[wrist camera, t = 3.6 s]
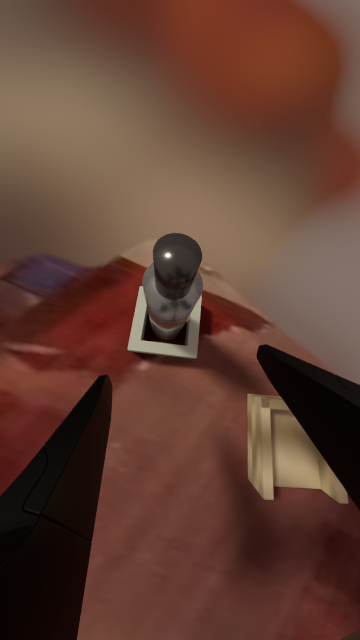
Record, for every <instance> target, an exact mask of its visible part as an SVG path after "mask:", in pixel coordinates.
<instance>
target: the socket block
mask: <svg viewBox="0 0 360 640" xmlns="http://www.w3.org/2000/svg"><path fill="white" fill-rule="evenodd" d="M201 300H202V296H200V298H199V300H198V302H197V303H196V305H195V307H194V308H193V310H192V312H191V314H190V315H189V317H188V319H187V328H186V337H185V346H183V345H175V344H167V343H159V342H151V341H143V339H144V333H145V327H146V322H147V316H148V308H147V304H146V299H145V295H144V290H143V287H142V286H140V289H139V294H138V299H137V304H136V309H135V314H134V319H133V324H132V329H131V334H130V339H129V344H128V350H129V351H131V352H139V353H147V354H156V355H164V356H172V357H181V358H189V359H195V358H197V350H198V338H199V325H200V312H201Z"/></svg>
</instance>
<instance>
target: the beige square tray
mask: <svg viewBox="0 0 360 640" xmlns="http://www.w3.org/2000/svg"><path fill="white" fill-rule="evenodd" d="M247 403H248V480H249V481H250V482H251V483H252V485H253V486H254V487H255V489H256V490H257V491H258V492H259V494H260V495H261V496H262V498H263V499H267V500H274V495H273V486H280V487H297V488H314V489H322V490H323V491H324V492H325V493H327V494H328V495H329V496H331V497H332V498H333V499H335V500H336V501H337V502H339V503H346V504H348V497H347V491H346V490H345V489H344V487H343V486H342V484H341V483H340V481H339V480H338V479H337V477H336V476H335V474H334V473H333V471H332V470H331V468H330V467H329V466H328V464H327V463H326V461H325V460H324V458H323V457H322V455H321V454H320V452H319V451H318V450H317V448H316V447H315V445H314V444H313V442H312V441H311V440H310V438H309V437H308V435H307V434H306V432H305V431H304V430H303V428H302V427H301V425H300V424H299V422H298V421H297V419H296V418H295V417H294V415H293V414H292V412H291V411H290V409H289V408H288V407H287V405H286V404H285V402H284V401H283V399H282V398H281V397H277V396H267V395H258V394H248V393H247Z"/></svg>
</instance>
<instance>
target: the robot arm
mask: <svg viewBox="0 0 360 640" xmlns="http://www.w3.org/2000/svg"><path fill="white" fill-rule="evenodd" d="M257 359H258V361H259V363H260V365H261V367H262V368H263V370H264V372H265V374H266V375H267V377H268V379H269V381H270V382H271V384H272V385H273V386H274V388H275V389H276V391H277V392H278V394H279V395H280V396H281V398H282V399H283V401H284V402H285V404H286V405H287V407H288V408H289V409H290V411H291V412H292V414H293V415H294V417H295V418H296V419H297V421H298V422H299V424H300V425H301V427H302V428H303V430H304V431H305V432H306V434H307V435H308V437H309V438H310V440H311V441H312V442H313V444H314V445H315V447H316V448H317V450H318V451H319V452H320V454H321V455H322V457H323V458H324V460H325V461H326V463H327V464H328V466H329V467H330V468H331V470H332V471H333V473H334V474H335V476H336V477H337V479H338V480H339V481H340V483H341V484H342V486H343V487H344V489H345V490H346V491H347V493H348V494H349V496H350V497H351V499H352V500H353V501H354V503H355V504H356V506H357V507H358V509H359V510H360V385H358V384H356V383H354V382H351V381H349V380H346V379H344V378H342V377H340V376H337V375H334V374H333V373H331V372H328V371H326V370H324V369H321V368H319V367H317V366H315V365H312V364H310V363H308V362H305V361H303V360H301V359H299V358H296V357H294V356H292V355H289V354H287V353H285V352H283V351H280V350H278V349H276V348H273V347H271V346H269V345H266V344H264V345H260V346H259V347H258V351H257ZM111 410H112V383H111V381H110V378H109V376H108V375H102V376H99V377H98V378H97V380H96V381H95V382H94V383H93V385H92V386H91V387H90V388H89V390H88V391H87V392H86V393H85V395H84V396H83V397H82V398H81V400H80V401H79V402H78V403H77V405H76V406H75V407H74V408H73V409H72V411H71V412H70V413H69V414H68V416H67V417H66V418H65V419H64V421H63V422H62V423H61V424H60V426H59V427H58V428H57V429H56V431H55V432H54V433H53V434H52V436H51V437H50V438H49V439H48V441H47V442H46V443H45V445H44V446H43V447H42V448H41V449H40V451H39V452H38V453H37V454H36V456H35V457H34V458H33V459H32V460H31V462H30V463H29V464H28V465H27V466H26V468H25V469H24V470H23V471H22V472H21V474H20V475H19V476H18V477H17V478H16V479H15V480H14V482H13V483H12V484H11V485H10V486H9V487H8V488H7V489H6V491H5V492H4V493H3V494H2V495H1V496H0V640H77V635H78V628H79V622H80V615H81V609H82V602H83V596H84V590H85V583H86V577H87V570H88V564H89V557H90V551H91V545H92V542H91V541H92V537H93V531H94V525H95V518H96V512H97V505H98V499H99V493H100V486H101V480H102V473H103V467H104V460H105V454H106V448H107V441H108V435H109V428H110V422H111ZM341 640H360V629H359V630H357V631H355V632H354V633H352V634H350V635H348V636H346V637H345V638H343V639H341Z"/></svg>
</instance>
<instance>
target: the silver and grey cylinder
mask: <svg viewBox="0 0 360 640" xmlns="http://www.w3.org/2000/svg"><path fill="white" fill-rule="evenodd" d="M153 260H154V262H153V263H152V264H151V265H150V266H149V267H148V268H147V270H146V271H145V273H144V276H143V290H144V295H145V299H146V304H147V308H148V313H149V317H150V322H151V326H152V330H153V333H154V334H155V335H156V336H157V337H158V338H160V339H162V340H171V339H173V338H175V337H176V336H177V335H178V334H179V332H180V331H181V329H182V327H183V326H184V324H185V322H186V320H187V319H188V317H189V315H190V314H191V312H192V310H193V308H194V307H195V305H196V303H197V302H198V300H199V298H200V296H201V294H202V289H203V282H202V278H201V275H200V273H199V272H198V268H199V266H200V263H201V260H202V252H201V249H200V247H199V245H198V244H197V242H196V241H195V240H193V239H192V238H190V237H189V236H187V235H184V234H179V233H171V234H167V235H165V236H163V237H161V238H160V239H159V240H158V241H157V242H156V244H155V246H154V249H153Z"/></svg>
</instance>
